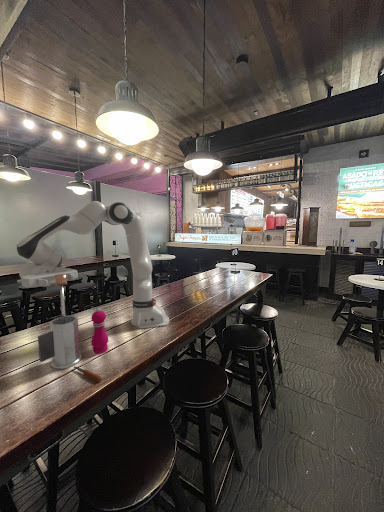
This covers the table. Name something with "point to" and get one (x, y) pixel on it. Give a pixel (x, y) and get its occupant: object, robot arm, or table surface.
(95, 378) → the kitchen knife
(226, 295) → the table surface
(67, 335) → the press
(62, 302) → the plunger
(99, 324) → the pepper mill
